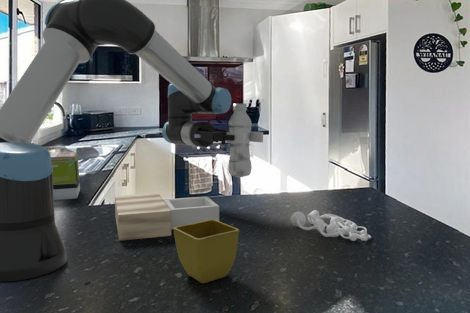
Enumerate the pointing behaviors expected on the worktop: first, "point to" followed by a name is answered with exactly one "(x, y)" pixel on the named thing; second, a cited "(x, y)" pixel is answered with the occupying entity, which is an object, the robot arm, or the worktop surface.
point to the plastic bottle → (238, 151)
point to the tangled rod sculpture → (330, 225)
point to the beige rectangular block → (142, 216)
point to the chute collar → (192, 210)
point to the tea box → (65, 175)
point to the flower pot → (206, 249)
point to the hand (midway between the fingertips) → (253, 137)
